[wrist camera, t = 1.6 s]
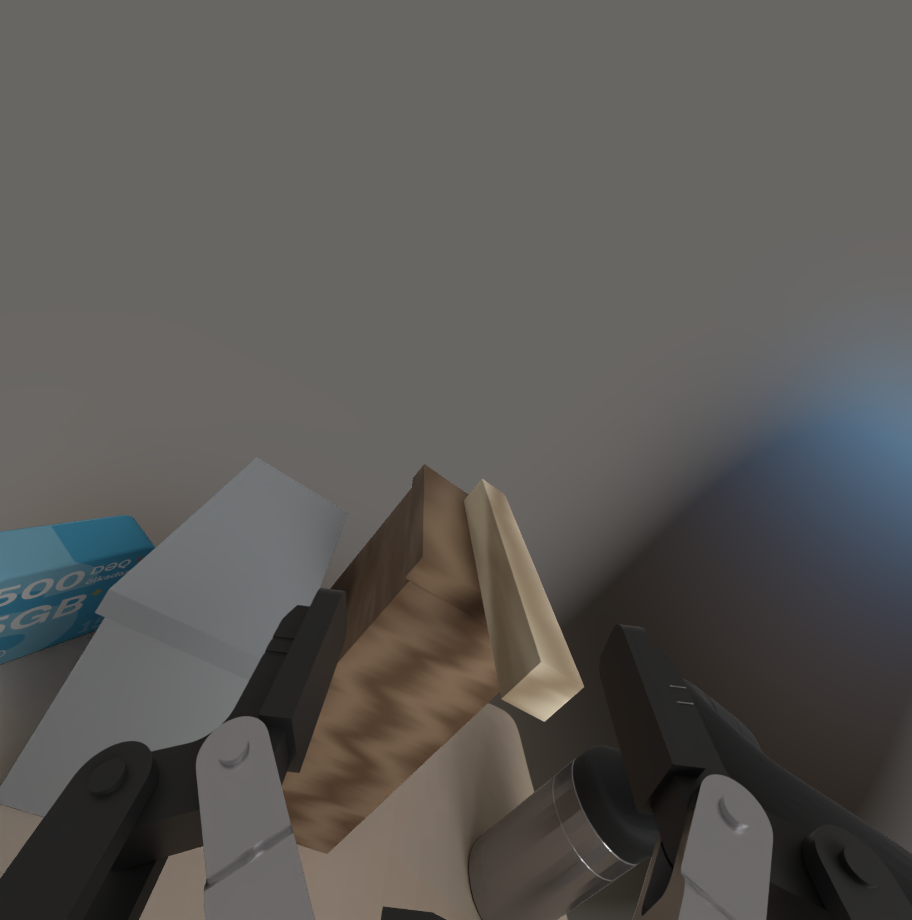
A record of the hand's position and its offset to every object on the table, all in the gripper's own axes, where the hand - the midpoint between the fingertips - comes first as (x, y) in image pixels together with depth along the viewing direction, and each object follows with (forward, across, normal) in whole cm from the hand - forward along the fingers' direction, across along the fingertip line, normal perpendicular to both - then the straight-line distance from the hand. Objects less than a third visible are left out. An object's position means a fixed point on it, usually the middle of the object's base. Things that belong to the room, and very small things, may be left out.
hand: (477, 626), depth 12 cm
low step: (+13, -27, -32) cm, 44 cm away
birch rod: (+15, +3, -12) cm, 19 cm away
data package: (+14, -38, -25) cm, 48 cm away
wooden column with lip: (+14, -14, -40) cm, 45 cm away
